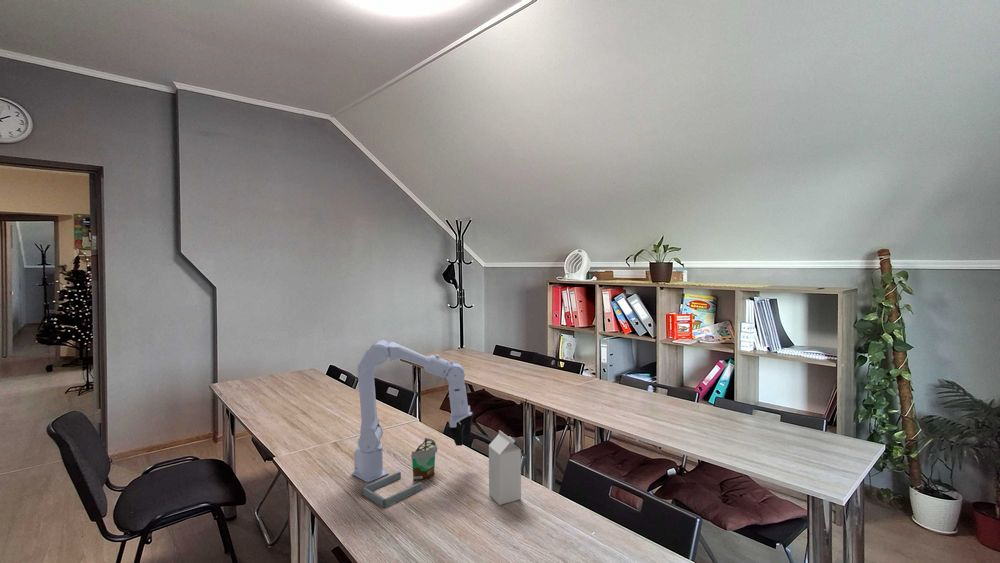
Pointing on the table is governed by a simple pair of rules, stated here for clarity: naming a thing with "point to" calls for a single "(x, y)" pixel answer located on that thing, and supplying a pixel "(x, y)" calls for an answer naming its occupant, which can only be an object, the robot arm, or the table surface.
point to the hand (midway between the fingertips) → (463, 440)
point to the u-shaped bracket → (394, 498)
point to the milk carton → (504, 469)
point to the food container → (424, 460)
